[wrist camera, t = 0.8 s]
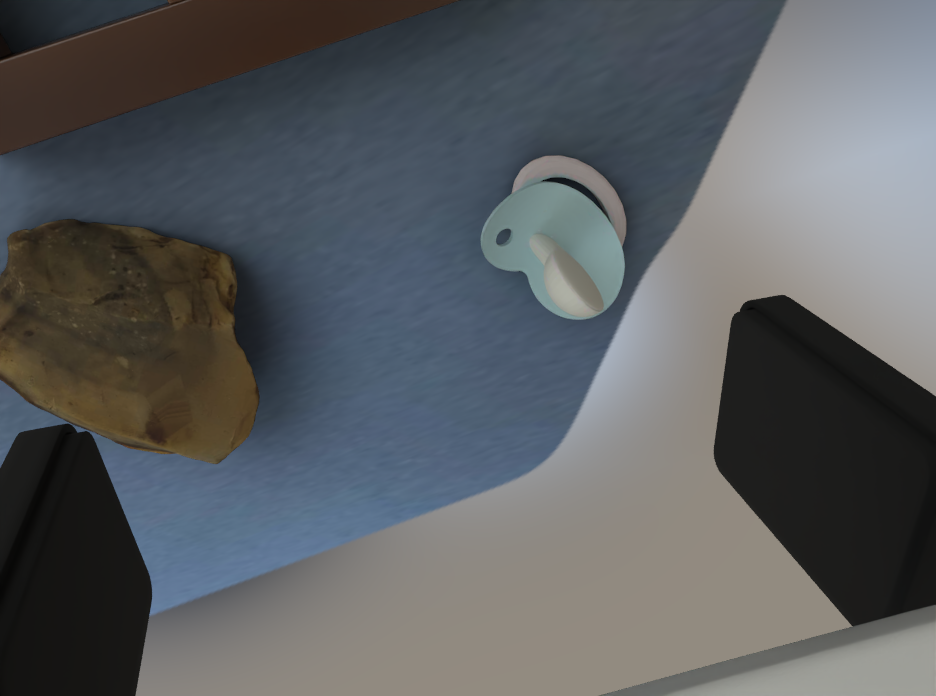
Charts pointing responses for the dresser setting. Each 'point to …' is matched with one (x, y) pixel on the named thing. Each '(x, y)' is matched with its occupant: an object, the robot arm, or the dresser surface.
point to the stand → (168, 57)
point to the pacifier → (561, 237)
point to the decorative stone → (127, 337)
